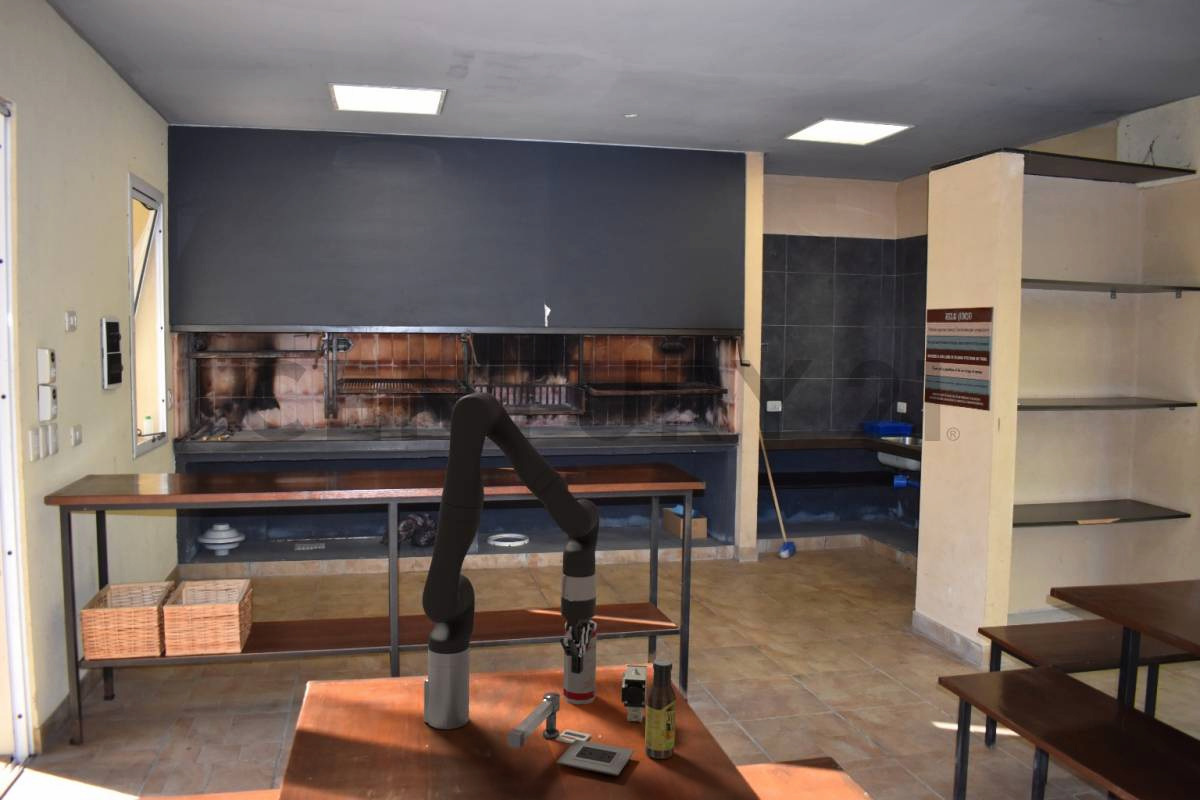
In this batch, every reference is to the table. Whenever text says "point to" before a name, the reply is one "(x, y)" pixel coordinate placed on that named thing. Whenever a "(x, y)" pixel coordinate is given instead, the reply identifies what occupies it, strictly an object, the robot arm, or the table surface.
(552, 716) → the arm post
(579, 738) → the label plate
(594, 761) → the electrical outlet
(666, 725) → the sauce bottle
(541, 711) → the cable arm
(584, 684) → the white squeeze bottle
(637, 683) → the pneumatic valve
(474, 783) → the table surface
